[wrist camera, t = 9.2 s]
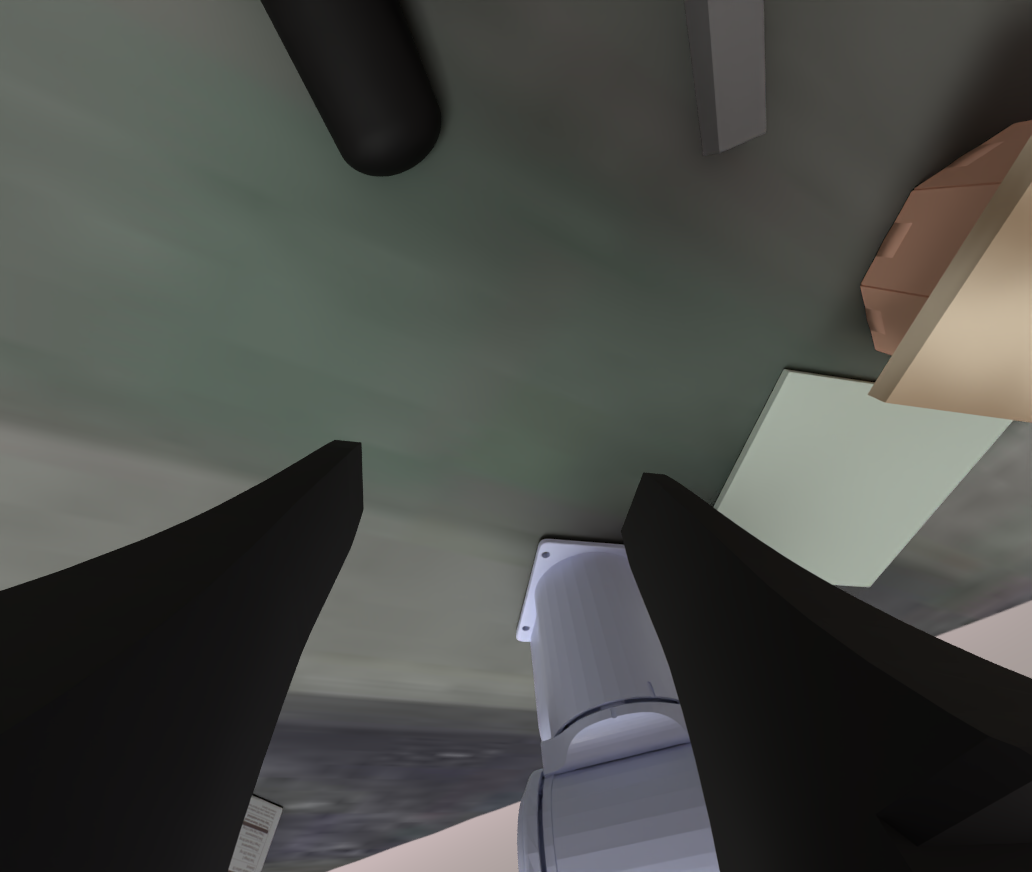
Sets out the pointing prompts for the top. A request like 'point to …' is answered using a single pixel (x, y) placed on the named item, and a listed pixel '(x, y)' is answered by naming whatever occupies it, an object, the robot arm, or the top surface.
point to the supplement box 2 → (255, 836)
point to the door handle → (411, 101)
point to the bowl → (933, 234)
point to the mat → (847, 474)
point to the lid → (976, 318)
